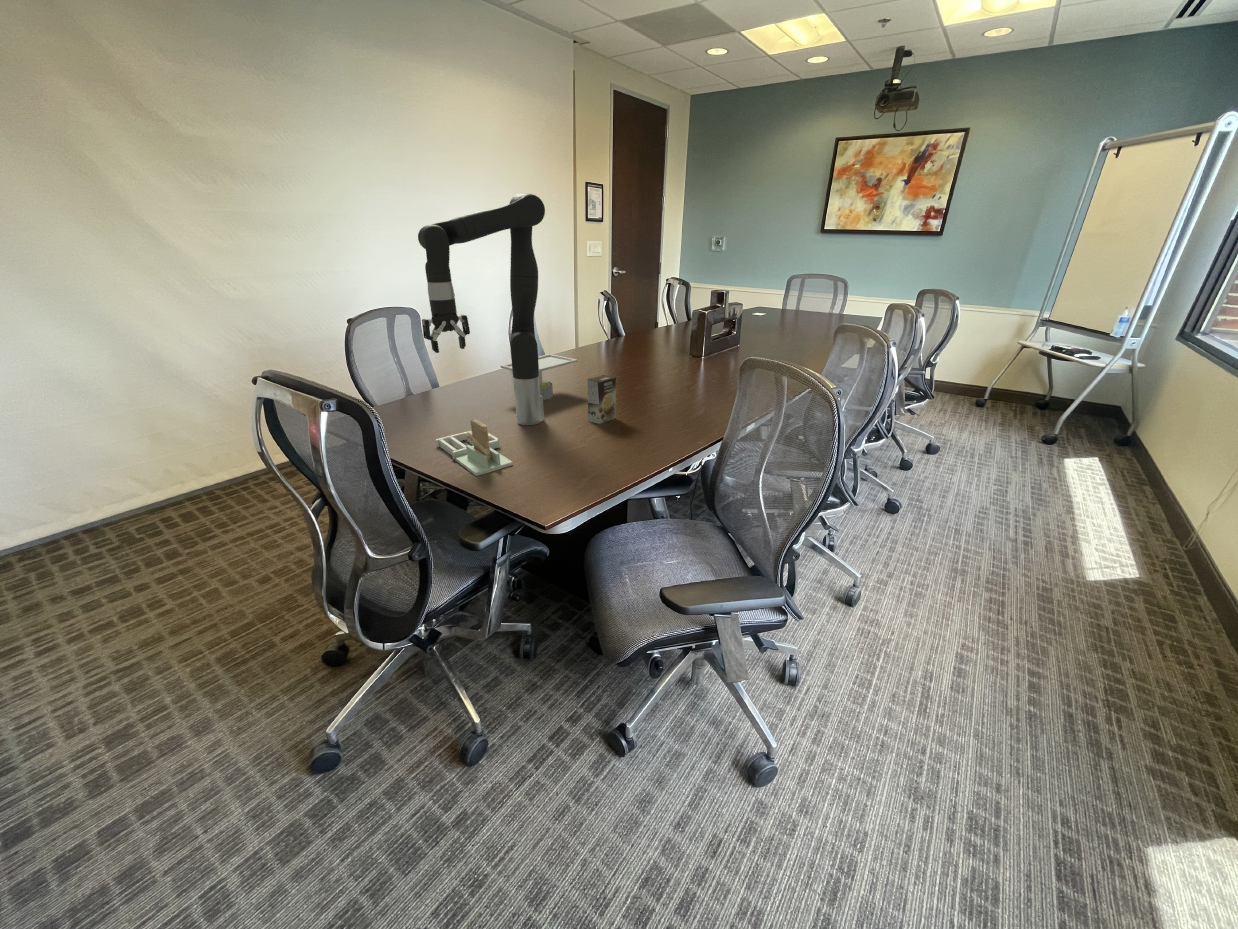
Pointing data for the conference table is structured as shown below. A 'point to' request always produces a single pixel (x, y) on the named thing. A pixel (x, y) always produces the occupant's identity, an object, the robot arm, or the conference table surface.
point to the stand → (482, 461)
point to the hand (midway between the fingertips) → (449, 350)
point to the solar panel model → (545, 364)
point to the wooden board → (481, 438)
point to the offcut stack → (470, 437)
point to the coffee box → (601, 399)
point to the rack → (460, 444)
